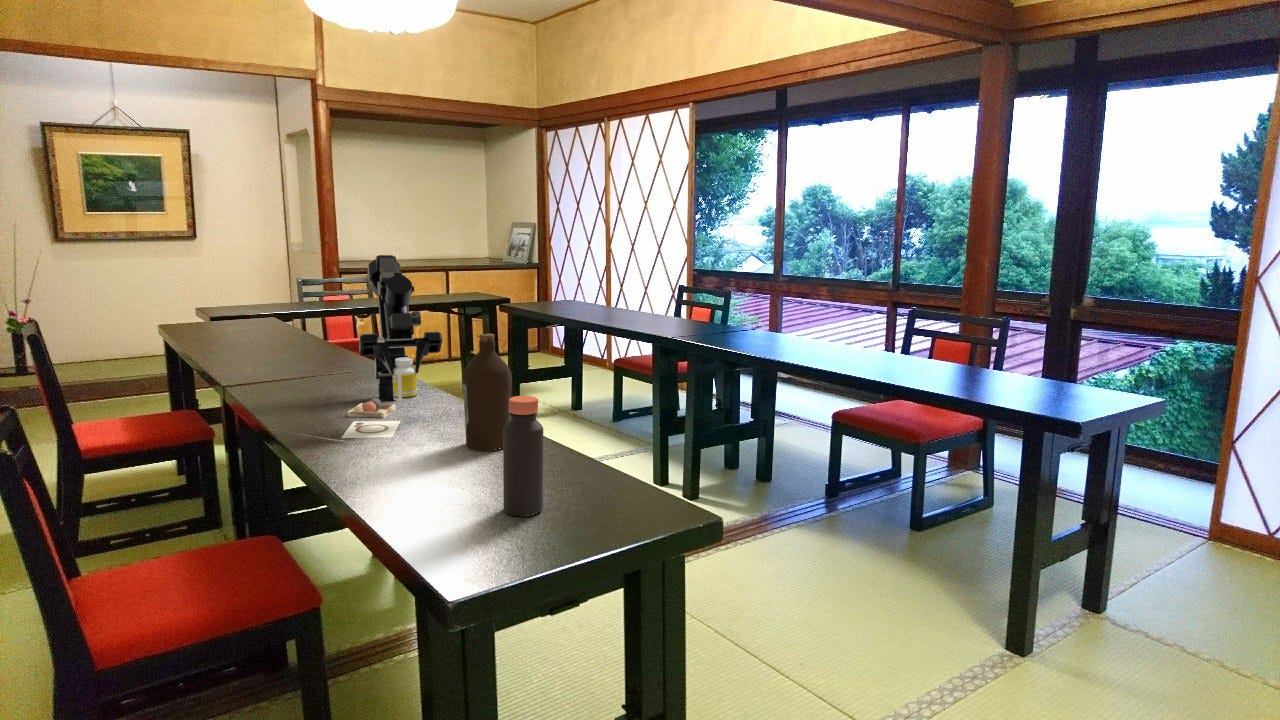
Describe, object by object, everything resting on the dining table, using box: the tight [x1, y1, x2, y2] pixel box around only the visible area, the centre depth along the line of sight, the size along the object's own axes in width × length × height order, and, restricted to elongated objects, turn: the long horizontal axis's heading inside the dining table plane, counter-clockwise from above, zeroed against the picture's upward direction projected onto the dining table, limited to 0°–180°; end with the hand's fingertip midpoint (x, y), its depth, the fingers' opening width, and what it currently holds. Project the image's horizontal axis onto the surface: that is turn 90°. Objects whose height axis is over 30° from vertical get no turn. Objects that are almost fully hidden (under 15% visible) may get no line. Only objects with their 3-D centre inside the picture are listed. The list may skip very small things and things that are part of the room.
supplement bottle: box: [392, 357, 418, 402], centre depth 178 cm, size 5×5×10 cm
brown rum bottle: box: [461, 333, 513, 452], centre depth 165 cm, size 11×11×25 cm
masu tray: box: [347, 402, 397, 419], centre depth 190 cm, size 9×9×2 cm
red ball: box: [363, 401, 376, 412], centre depth 188 cm, size 3×3×3 cm
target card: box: [340, 420, 401, 439], centre depth 176 cm, size 14×11×1 cm
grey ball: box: [368, 397, 382, 411], centre depth 192 cm, size 3×3×3 cm
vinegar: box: [502, 395, 544, 517], centre depth 129 cm, size 7×7×20 cm
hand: (404, 373), depth 177 cm, fingers closed on supplement bottle, 5 cm apart
